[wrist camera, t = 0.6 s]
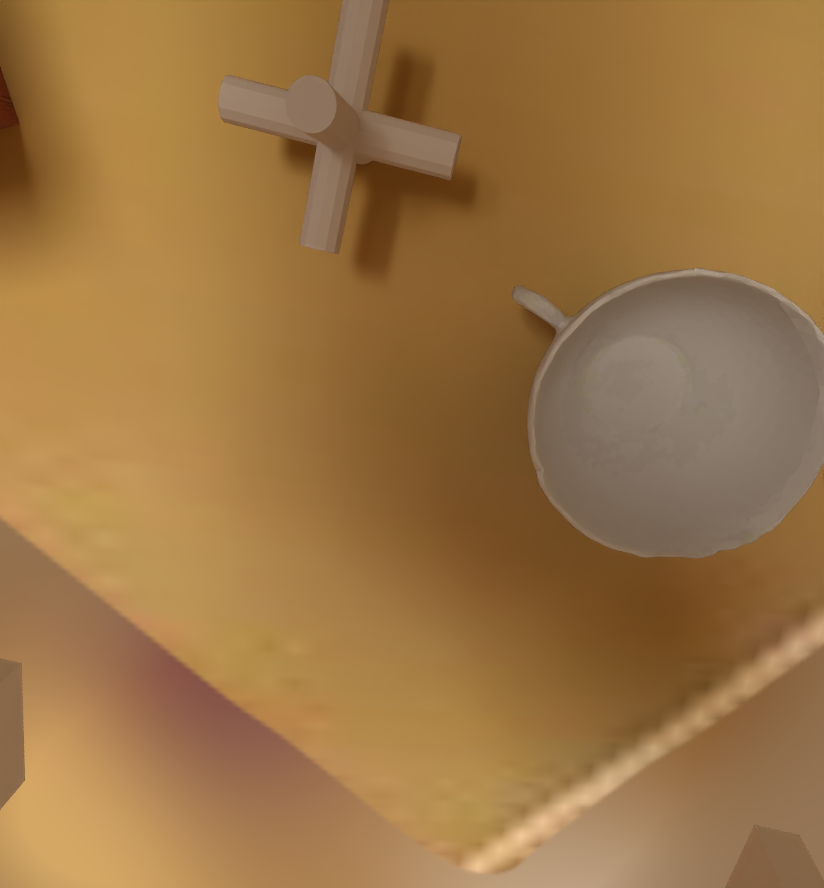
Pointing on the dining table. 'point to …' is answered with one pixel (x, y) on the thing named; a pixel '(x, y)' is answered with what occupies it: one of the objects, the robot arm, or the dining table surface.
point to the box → (6, 106)
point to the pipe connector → (340, 123)
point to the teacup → (677, 412)
